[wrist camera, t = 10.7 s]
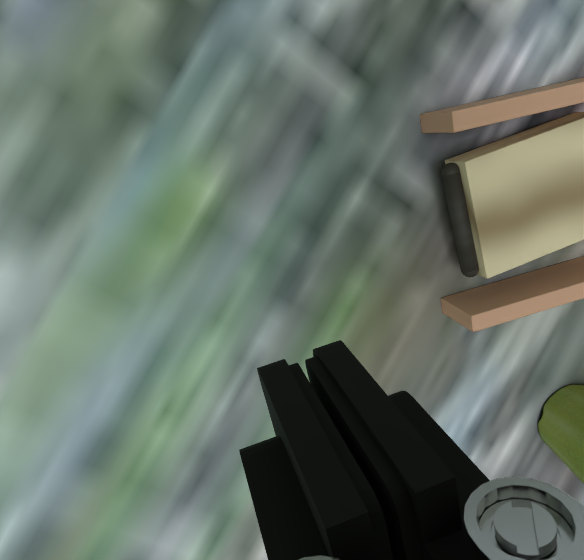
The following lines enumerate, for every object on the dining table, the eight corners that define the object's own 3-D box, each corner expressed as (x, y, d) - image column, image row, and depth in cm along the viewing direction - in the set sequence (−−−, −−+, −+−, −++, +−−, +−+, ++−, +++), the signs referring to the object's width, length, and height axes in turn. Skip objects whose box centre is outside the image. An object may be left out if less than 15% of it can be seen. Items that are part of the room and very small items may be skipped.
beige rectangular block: (422, 164, 34) (450, 167, 31) (561, 113, 36) (602, 111, 32) (445, 270, 37) (473, 284, 34) (574, 219, 38) (613, 227, 35)
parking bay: (419, 114, 33) (452, 111, 30) (603, 72, 36) (654, 65, 32) (442, 312, 38) (472, 332, 34) (604, 264, 40) (648, 277, 36)
